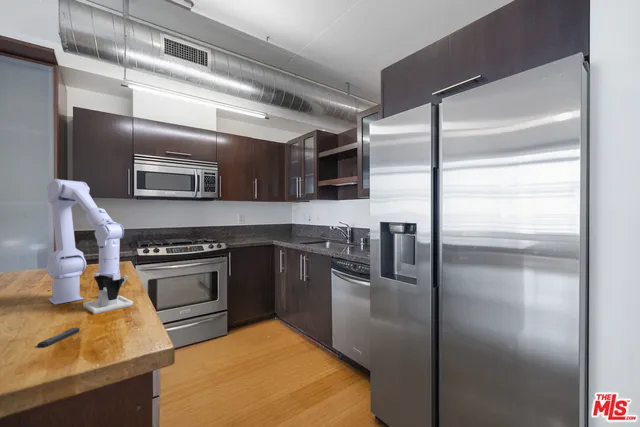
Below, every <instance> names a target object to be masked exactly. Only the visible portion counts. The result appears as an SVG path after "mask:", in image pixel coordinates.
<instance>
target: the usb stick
mask: <svg viewBox="0 0 640 427" xmlns="http://www.w3.org/2000/svg"><path fill="white" fill-rule="evenodd" d="M79 332H80V328H79V327H71V328H69V329H68V330H65V331H63V332H60V333H58V334H55V335H53V336H51V337H49V338H46V339H45V340H42V341H41V342H38V343H37V348H47V347H50V346H52V345H54V344H56V343H58V342H60V341H62V340H65V339H66V338H69V337H71V336H73V335H75V334H77V333H79Z"/></svg>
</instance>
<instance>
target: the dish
mask: <svg viewBox="0 0 640 427" xmlns="http://www.w3.org/2000/svg"><path fill="white" fill-rule="evenodd" d="M82 304H83V305H82V306H83V308H84V309H85V310H87V311H88V312H90V313H91V314H93V315H96V314H101V313H106V312H109V311H110V312H111V311H115V310H119V309H123V308H127V307H132V306H133V305H134V301H133V300H131V299H128V298H126V297H124V296H123V295H119V296H118V301H117V304H115V305H110V306H106V307H100V306H99V305H98V299H95V300H91V301H90V300H89V301H86V302H83V303H82Z"/></svg>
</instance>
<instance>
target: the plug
mask: <svg viewBox="0 0 640 427" xmlns="http://www.w3.org/2000/svg"><path fill="white" fill-rule="evenodd" d="M97 300H98V305H99V306H100V307H106V306H110V305H115V304H117V301H118V296H117V299H115V300H109V299H108V295H107V289H106V287H105V288H103V290H99V289H98V296H97Z"/></svg>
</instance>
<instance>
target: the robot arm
mask: <svg viewBox="0 0 640 427" xmlns="http://www.w3.org/2000/svg"><path fill="white" fill-rule="evenodd" d="M46 189H47V196H48V197H47V199H48V202H49V203H50V204H51V212H52V220H53V230H54V238H55V239H54V241H55V248H56V249H55V251H54V252H52V253H51V254H50V255H49V256H47V263H46V267H45V268H46V273H47V274H48V276H50V278H51V279H52V278H53V279H52V284H51V297H49V298H47V299H48V301H49V302H50V303H52V304H53V305H60V304H65V303H69V302H70V303H71V302H75V301H81V300H84V297H83V296H81V295H80V292H81V291H80V288H81V286H80V284H81V283H80V282H81V281H80V280H81V275H83V272H84V271H85V270H86V268H87V261H86V258H85V256H84V252H83V251H81V250H80V249H78V248H76V241H75V240H76V239H75V232H74V222H73V211H72V207H73V206H74V205H77V204H78V205H79V206H80V207H81V208H82V209H83V210H84V211H85V212H86V215H85V219H87V221H88V222H89V224H90V225H91V226H92V228H93V229H94V230H95V231H94V237H95V239H96V245H97V246H98V271H95V272H93V275H94V276H93V279H94V281H95V282H96V283H97V287H98V291H99V290H103V288H105V287H106V289H107V295H108V299H109V300H115V299H117V296H118V292H120V289H121V287H122V286H121V285H122V283H123V282H124V278H122V277H121V273H120V272H121V271H120V248H121V247H120V246H121V243H120V241H121V239H123V237H124V236H125V235H124V234H125V228H124V227H123V225H122V223H119V222H118V223H117V222H116V221H114V220H113V219H112V218H111V216H110V215H109V214H108V213H107V211H106V210H105V208H101V207H98V206H97V204H96V203H95V201H94V200H93V197H92V196H91V194H90V189H91V188H90V187H89V185H88V184H87V183H86V182H85V181H77V180H68V179H67V180H66V179H59V178H54V179H52V180H50V181H49V184H47V187H46Z"/></svg>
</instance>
